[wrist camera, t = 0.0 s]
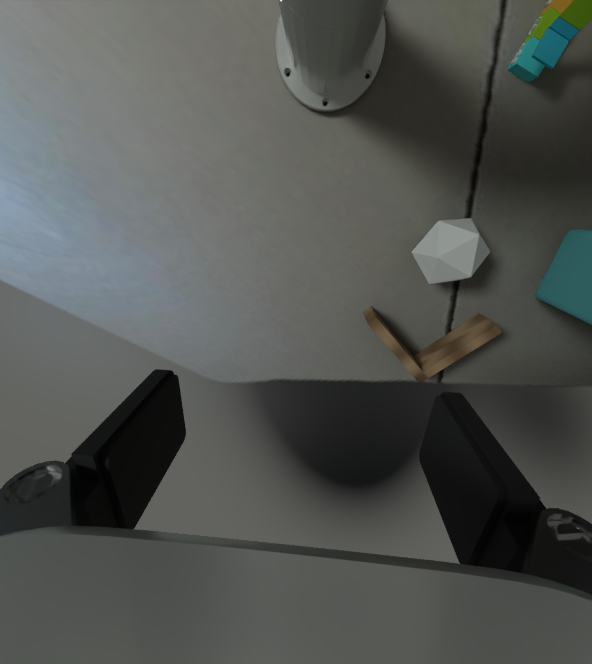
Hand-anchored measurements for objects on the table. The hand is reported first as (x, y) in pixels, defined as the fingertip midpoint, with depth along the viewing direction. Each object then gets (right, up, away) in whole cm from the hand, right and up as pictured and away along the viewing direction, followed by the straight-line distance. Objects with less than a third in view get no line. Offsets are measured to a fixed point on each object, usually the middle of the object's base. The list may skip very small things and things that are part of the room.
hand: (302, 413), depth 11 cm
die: (+21, +15, +32) cm, 41 cm away
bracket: (+20, +2, +38) cm, 43 cm away
